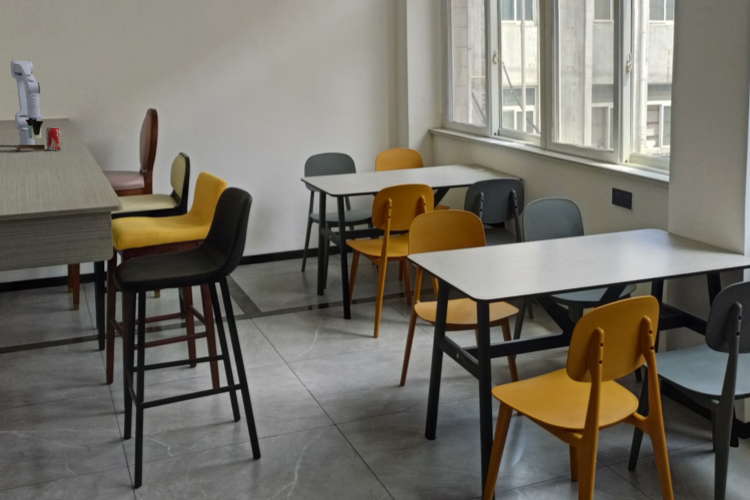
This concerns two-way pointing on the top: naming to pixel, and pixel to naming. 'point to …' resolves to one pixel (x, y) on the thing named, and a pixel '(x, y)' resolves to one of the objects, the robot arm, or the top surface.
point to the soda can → (53, 138)
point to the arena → (30, 147)
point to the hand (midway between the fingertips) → (35, 134)
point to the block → (31, 133)
